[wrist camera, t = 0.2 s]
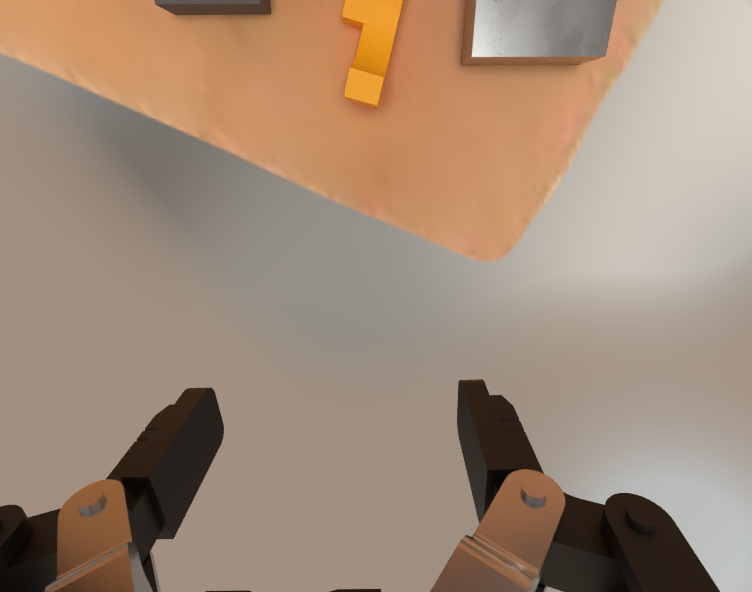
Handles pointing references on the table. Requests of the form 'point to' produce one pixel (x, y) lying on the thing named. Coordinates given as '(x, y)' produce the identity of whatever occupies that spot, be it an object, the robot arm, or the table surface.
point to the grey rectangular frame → (215, 6)
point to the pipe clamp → (371, 47)
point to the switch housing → (536, 31)
